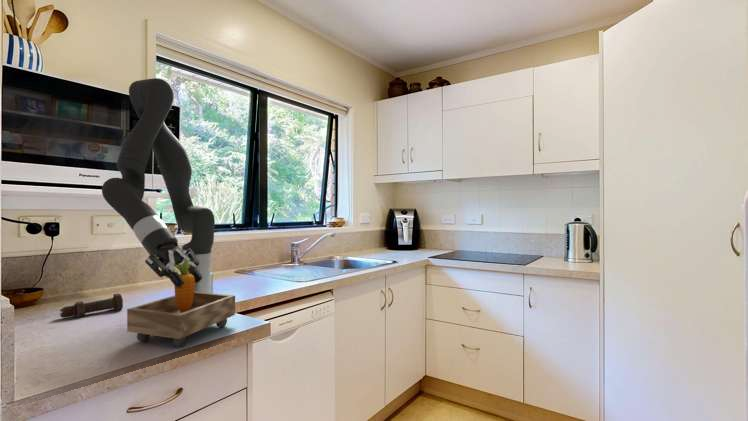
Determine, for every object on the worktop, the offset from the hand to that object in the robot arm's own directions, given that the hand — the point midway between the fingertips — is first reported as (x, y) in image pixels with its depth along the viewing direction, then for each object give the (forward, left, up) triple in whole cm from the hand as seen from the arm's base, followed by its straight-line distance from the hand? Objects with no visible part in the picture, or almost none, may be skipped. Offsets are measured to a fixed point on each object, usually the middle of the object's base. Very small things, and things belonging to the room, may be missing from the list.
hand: (190, 282), depth 97 cm
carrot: (0, -2, -9) cm, 10 cm away
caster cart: (0, -2, -14) cm, 14 cm away
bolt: (-5, -42, -14) cm, 44 cm away
